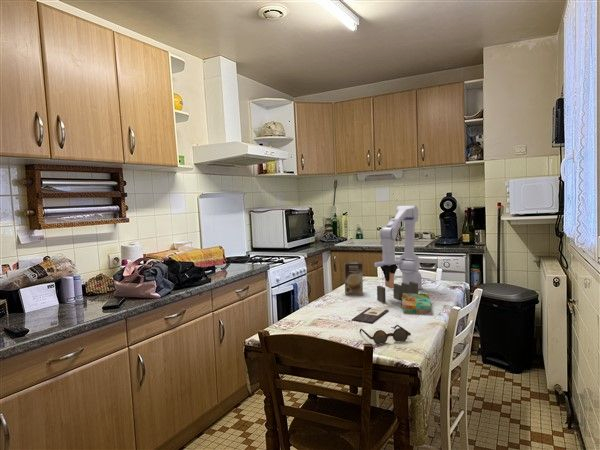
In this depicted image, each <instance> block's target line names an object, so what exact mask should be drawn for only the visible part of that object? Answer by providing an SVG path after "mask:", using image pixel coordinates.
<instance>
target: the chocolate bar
mask: <svg viewBox="0 0 600 450" xmlns="http://www.w3.org/2000/svg"><path fill="white" fill-rule="evenodd" d="M388 312H389V309H383V308H382V309H381V308H375V307H368V308H366V309H365V310H363V311H362V312H360V313H359V314H358V315H356V316H354V317H353V318H351V321H353V322H359V323H366V324H371V325H372V324H374V323H375V322H377V321H378V320H379V319H380V318H382V317H383V316H384V315H386V314H387V313H388Z"/></svg>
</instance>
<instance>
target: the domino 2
mask: <svg viewBox="0 0 600 450" xmlns="http://www.w3.org/2000/svg"><path fill="white" fill-rule="evenodd" d="M394 280H395V274H394V273H391V272H389V281H386V280H384V284H385V288H386V287H387V288H389V289H393V288H394V284H395V283H394V282H395V281H394Z"/></svg>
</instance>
